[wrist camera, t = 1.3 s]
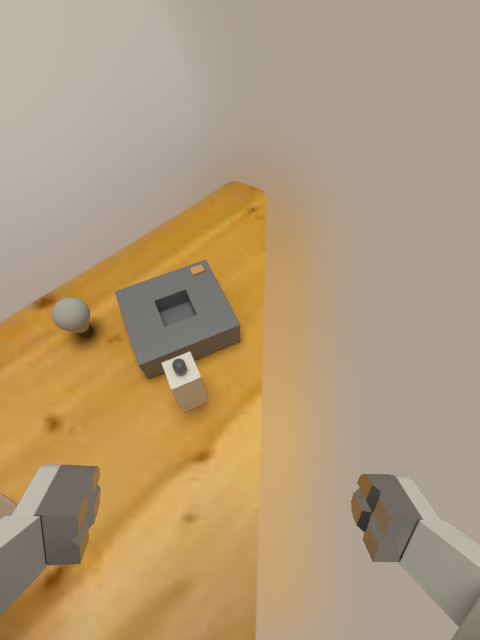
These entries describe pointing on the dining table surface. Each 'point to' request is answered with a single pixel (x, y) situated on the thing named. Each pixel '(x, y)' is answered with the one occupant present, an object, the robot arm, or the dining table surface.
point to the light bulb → (72, 316)
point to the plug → (185, 381)
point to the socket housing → (177, 317)
